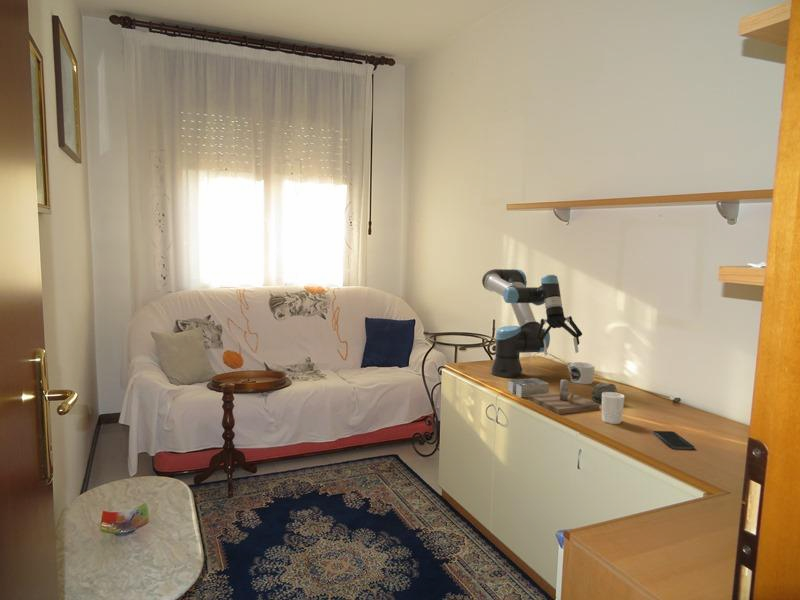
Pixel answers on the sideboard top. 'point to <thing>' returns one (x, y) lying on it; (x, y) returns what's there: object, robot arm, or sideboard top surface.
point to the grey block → (528, 387)
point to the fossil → (602, 391)
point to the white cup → (612, 407)
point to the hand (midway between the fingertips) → (561, 353)
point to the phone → (673, 440)
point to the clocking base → (564, 401)
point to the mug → (581, 372)
